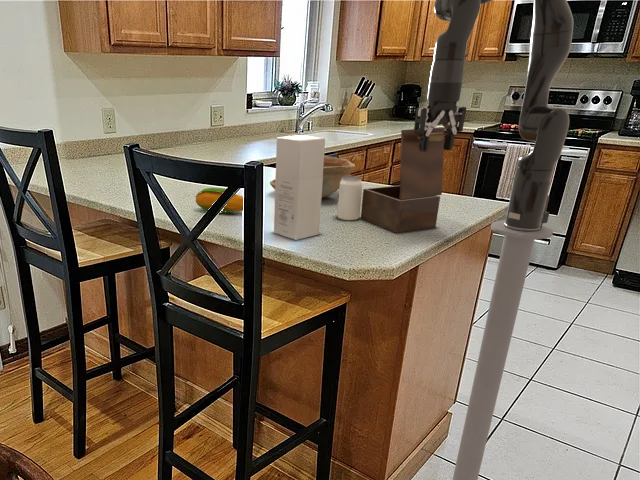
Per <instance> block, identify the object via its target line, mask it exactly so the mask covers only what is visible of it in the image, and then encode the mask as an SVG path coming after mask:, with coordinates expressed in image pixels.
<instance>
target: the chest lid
mask: <svg viewBox="0 0 640 480" xmlns="http://www.w3.org/2000/svg"><path fill="white" fill-rule="evenodd" d="M400 131H401V133H400V134H401V135H400V172H399V176H400V177H399V185H400V199H410V198H419V197H428V196H442V194H443V178H444V177H443V176H444V175H443V174H444V151H445V150H444V141H445V133H446V130H445V127H435V128H434V129H433V130H432V132H431V133H430V135H429V137H430V138H429V145H428V151H427V152H422V151H420V149H419V142H420V135H419V134H417V133H414V128H413V129H402V130H400Z"/></svg>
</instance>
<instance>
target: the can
mask: <svg viewBox="0 0 640 480" xmlns="http://www.w3.org/2000/svg"><path fill="white" fill-rule="evenodd" d="M338 190H339V191H338V202H337V218H338V219H339V220H341V221H347V222H348V221H349V222H351V221H357V220H359V219H360V216H361V206H362V196H363V181H362V177H361V176H358V175H349V176H343V177H342V180H341V182H340V188H339V189H338Z"/></svg>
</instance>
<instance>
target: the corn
mask: <svg viewBox="0 0 640 480" xmlns="http://www.w3.org/2000/svg"><path fill="white" fill-rule="evenodd" d="M226 189H227V188H223V187H207V188H203V189H202V190H200V191H198V193H197V194H196V195H195V200H194V201H195V203H196V204H197V206H198V207H200V208H201V209H203V210H205V211H208V209H209V208H210V207H211V206H212V204H213V203H214V202H215V201H216V200H217V199H218V198H219V197H220V196H221V195H222V193H223V192H224V191H225V190H226ZM234 194H235V195H234V196H233V197H232V198H231V199H230V201H229V202H228V203H227V205H226V206H225V207H224V209H223V211H221V212H219V213H220V214H233V212H244V211H243V195H240V194H236V193H234ZM225 211H226V212H225Z"/></svg>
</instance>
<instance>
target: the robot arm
mask: <svg viewBox="0 0 640 480" xmlns="http://www.w3.org/2000/svg"><path fill="white" fill-rule="evenodd" d="M490 2H493V0H435V1H434V5H433V6H434V7H433V11H434V14H435V16H436V18H438V19H439V20H441V21H444V22H449V24H448V26H447V29H446V30H445V31H444V32H442V33H440V34H439V35H438V36H437V38H436V41H435V47H434V53H433V61H432V65H431V69H430V76H429V81H428V89H427V97H426V100H427V102H428V104H427V107H417V108H416V109H415V117H414V127H413V129H414V133H417V134H419V135H420V142H419V149H420V151H422V152H427V151H428V145H429V138H430V137H429V135H430V133H431V132H432V130H433V129H434V128H437V126H441V125H442V127H443V128H445V133H446V134H444V151H452V149H453V147H454V143H455V142H454V141H455V137H456V135H457V134H458V133H462V132H463V129H464V124H465V120H466V113H467V107H466V106H460V105H459V106H457V103H458V102H459V101H460V98H461V92H462V87H463V80H464V74H465V59H466V54H467V47H468V41H469V39H470V36H471V35H472V32H473V29H474V26H475V24H476V21H477V19H478V16H479V14H480V9H481V6H482V5H484V4H488V3H490ZM574 24H575V23H574V17H573V13H572V10H571V7H570V5H569V3H568V1H567V0H533V13H532V23H531V31H530V41H529V54H528V55H529V56H528V64H527V65H528V67H527V72H526V82H525V88H524V95H523V99H522V104H521V109H520V115H519V121H518V132H519V135H520V137H521V138H522V139H523V140H525V141H529V142H534V145H533V148H532V150H531V152H529V153H526V154H522V155H520V156H519V157H518V160H517V163H516V167H515V172H514V173H515V174H514V178H513V181H512V182H513V183H512V187H511V193H510V196H509V197H510V198H509V201H508V207H507V212H506V216H505V219H504V220H505V223H504V226H505V227H506V228H509V229H512V230H516V231H524V232H534V231H539V230H540V229H541V228H542V225H544V224H547V223H548V222H549V221H548V220H549V217H550V211H547V208H548V204H549V200H550V196H549V191H550V188H551V184H552V180H553V179H552V178H553V174H554V171H555V166H556V164H557V162H558V161H559V159H560V157H561V155H562V151H563V148H564V145H565V143H566V142H565V141H566V138H567V135H568V131H569V128H570V115H569V112H568V111H567V110H566V109H565V108H562V107H558V106H549V104H548V103H549V94H550V90H551V86H552V83H553V81H554V79H555V77H556V75H558V73H559V71H560V70H561V68H562V67H563V65H564V63H565V61H566V60H567V58H568V56H569V54H570V51H571V48H572V42H573V41H572V40H573V33H574Z"/></svg>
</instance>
